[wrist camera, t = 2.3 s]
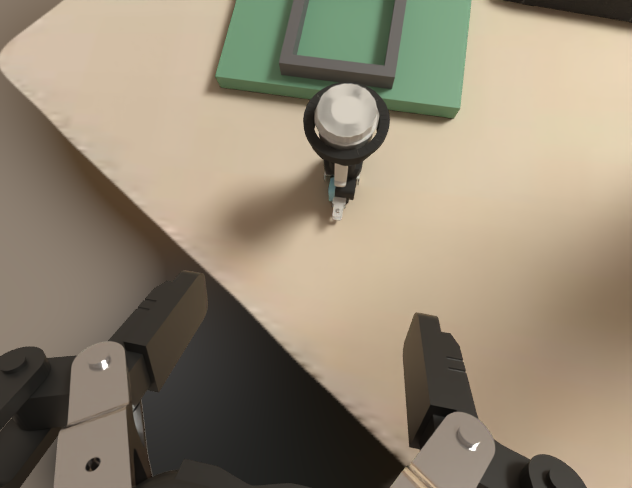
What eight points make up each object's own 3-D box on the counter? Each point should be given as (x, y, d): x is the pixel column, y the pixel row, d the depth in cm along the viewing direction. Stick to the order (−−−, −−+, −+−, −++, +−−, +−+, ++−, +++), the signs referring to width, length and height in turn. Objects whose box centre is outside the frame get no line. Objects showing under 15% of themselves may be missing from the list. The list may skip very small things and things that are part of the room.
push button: (366, 225, 28) (385, 177, 19) (305, 217, 29) (291, 166, 19) (375, 154, 30) (396, 75, 20) (316, 147, 30) (309, 66, 20)
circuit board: (470, -39, 34) (489, -86, 30) (453, 118, 30) (472, 88, 26) (260, -60, 36) (251, -106, 32) (220, 87, 32) (205, 55, 28)
